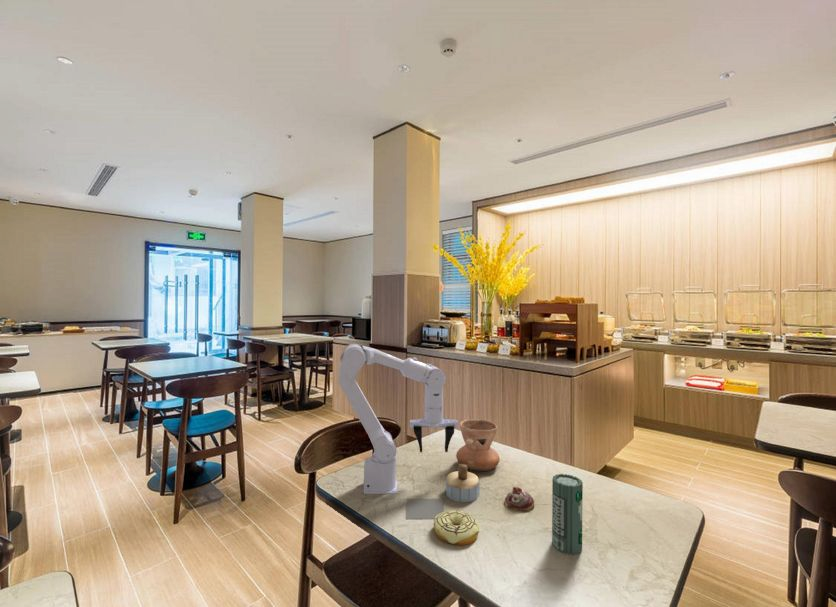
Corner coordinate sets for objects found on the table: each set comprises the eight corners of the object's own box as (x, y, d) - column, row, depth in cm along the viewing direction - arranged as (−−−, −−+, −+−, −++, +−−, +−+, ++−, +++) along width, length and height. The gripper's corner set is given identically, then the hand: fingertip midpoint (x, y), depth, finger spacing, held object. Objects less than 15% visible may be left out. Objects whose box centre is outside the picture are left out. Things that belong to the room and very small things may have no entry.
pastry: (502, 508, 103) (502, 490, 103) (507, 495, 110) (507, 478, 110) (533, 515, 100) (533, 496, 100) (536, 501, 107) (536, 483, 107)
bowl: (447, 503, 105) (447, 488, 105) (444, 486, 115) (444, 473, 115) (481, 503, 105) (481, 488, 105) (476, 486, 115) (476, 473, 115)
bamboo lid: (447, 488, 106) (447, 472, 105) (446, 473, 114) (446, 458, 114) (479, 489, 105) (480, 473, 105) (477, 474, 114) (477, 459, 114)
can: (587, 551, 85) (587, 484, 85) (564, 556, 84) (564, 488, 83) (569, 535, 91) (569, 472, 91) (547, 539, 89) (547, 475, 89)
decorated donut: (453, 555, 84) (453, 538, 84) (425, 531, 93) (425, 515, 93) (487, 538, 90) (487, 522, 90) (457, 517, 99) (457, 502, 99)
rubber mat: (405, 520, 97) (405, 519, 97) (406, 500, 107) (406, 498, 107) (445, 520, 97) (445, 518, 97) (442, 500, 107) (442, 498, 107)
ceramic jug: (489, 481, 119) (490, 435, 119) (447, 469, 126) (448, 426, 126) (507, 461, 134) (508, 421, 134) (468, 452, 141) (469, 414, 142)
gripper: (410, 410, 113) (409, 456, 113) (459, 410, 113) (458, 456, 113) (410, 403, 120) (410, 447, 120) (456, 403, 120) (456, 447, 120)
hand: (433, 450), depth 117 cm, fingers open, 7 cm apart
